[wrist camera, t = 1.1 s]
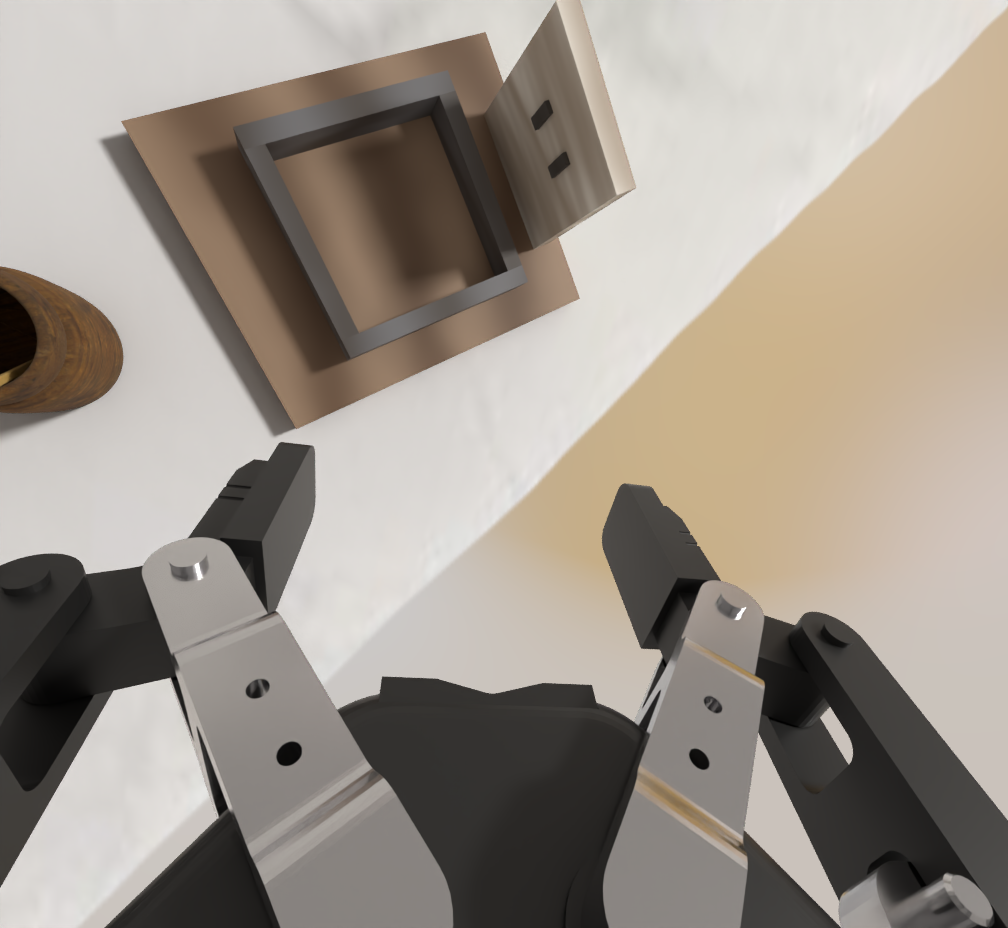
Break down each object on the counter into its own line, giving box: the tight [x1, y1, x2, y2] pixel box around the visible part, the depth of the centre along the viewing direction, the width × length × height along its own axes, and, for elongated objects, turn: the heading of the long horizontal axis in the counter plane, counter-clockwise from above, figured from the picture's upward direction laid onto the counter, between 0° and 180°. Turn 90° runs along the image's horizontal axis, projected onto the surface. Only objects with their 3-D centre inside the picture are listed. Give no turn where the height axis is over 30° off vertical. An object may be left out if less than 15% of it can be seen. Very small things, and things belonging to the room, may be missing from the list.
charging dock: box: [121, 0, 636, 429], centre depth 24 cm, size 20×16×10 cm
